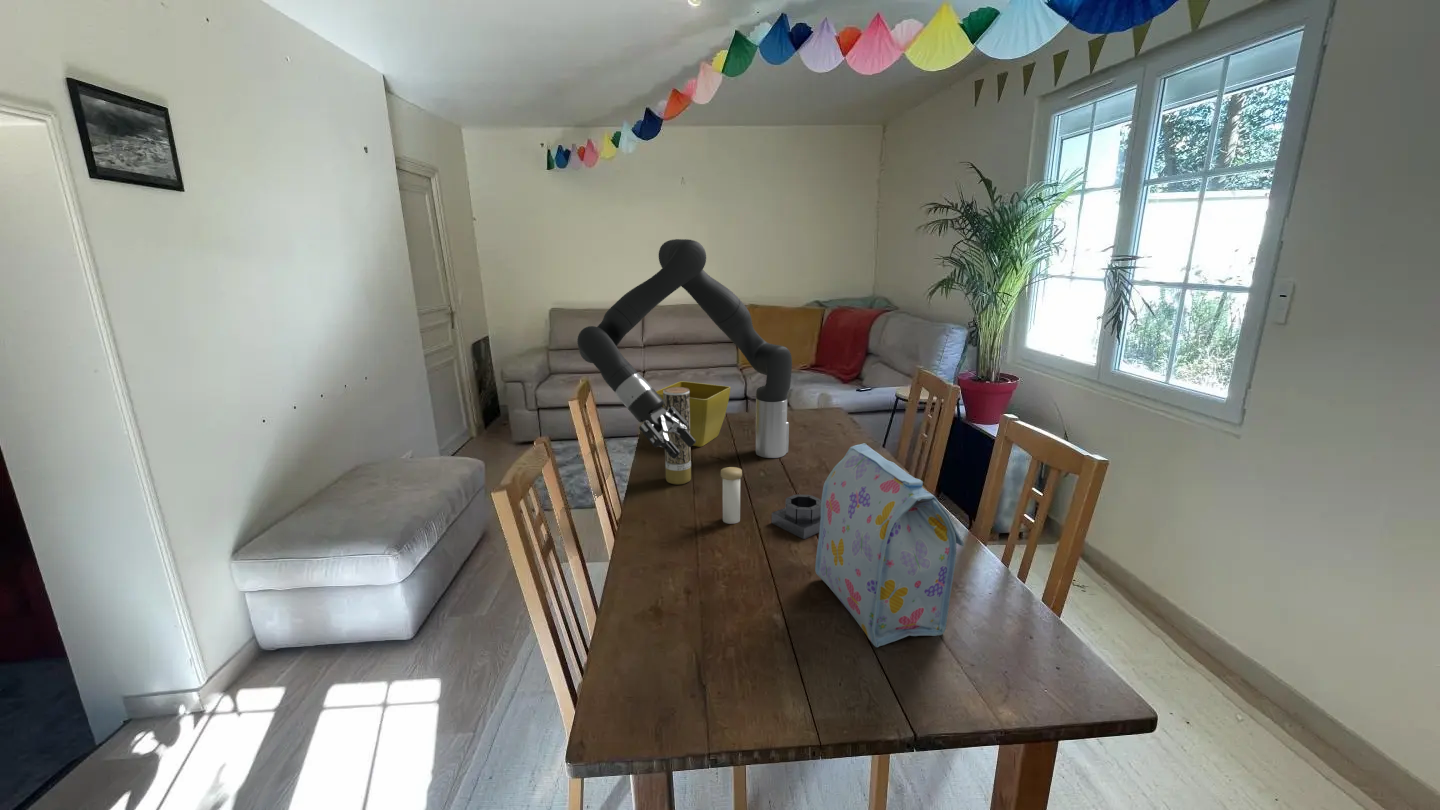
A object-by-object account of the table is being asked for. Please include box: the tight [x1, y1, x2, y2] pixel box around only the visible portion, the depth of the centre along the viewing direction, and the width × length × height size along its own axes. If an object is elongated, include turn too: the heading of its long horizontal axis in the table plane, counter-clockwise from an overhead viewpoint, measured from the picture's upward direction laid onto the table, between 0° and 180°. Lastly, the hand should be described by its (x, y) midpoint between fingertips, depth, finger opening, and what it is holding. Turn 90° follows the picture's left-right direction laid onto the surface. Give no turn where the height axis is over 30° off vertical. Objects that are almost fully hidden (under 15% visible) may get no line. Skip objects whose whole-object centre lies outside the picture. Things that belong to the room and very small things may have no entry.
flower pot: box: [655, 380, 732, 447], centre depth 189 cm, size 19×19×17 cm
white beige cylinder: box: [720, 466, 743, 525], centre depth 133 cm, size 5×5×12 cm
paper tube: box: [663, 387, 692, 485], centre depth 154 cm, size 7×7×25 cm
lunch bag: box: [814, 442, 965, 648], centre depth 99 cm, size 22×17×26 cm
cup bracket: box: [771, 494, 822, 540], centre depth 131 cm, size 10×10×6 cm
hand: (685, 450), depth 134 cm, fingers open, 8 cm apart
